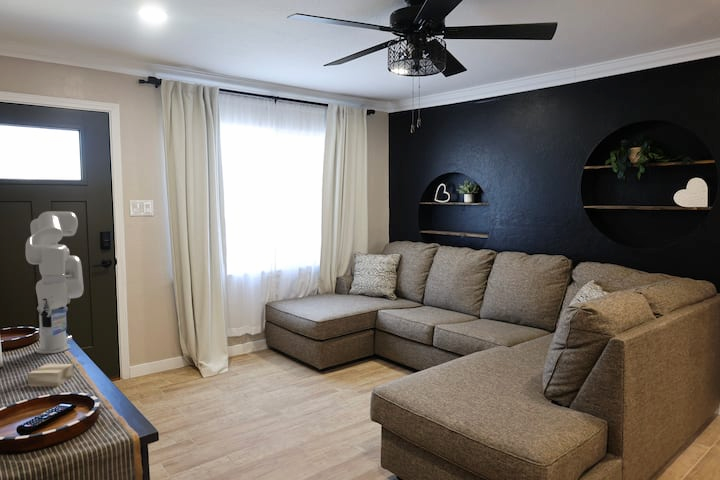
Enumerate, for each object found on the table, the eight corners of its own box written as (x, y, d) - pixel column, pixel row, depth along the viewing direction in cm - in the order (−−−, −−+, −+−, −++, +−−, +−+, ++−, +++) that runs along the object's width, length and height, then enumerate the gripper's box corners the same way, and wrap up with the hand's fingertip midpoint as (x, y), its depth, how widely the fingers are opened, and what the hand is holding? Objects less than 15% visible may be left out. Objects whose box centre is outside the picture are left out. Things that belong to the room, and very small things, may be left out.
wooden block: (46, 376, 176) (45, 363, 176) (73, 376, 176) (73, 363, 176) (28, 387, 166) (28, 373, 166) (57, 387, 167) (57, 373, 166)
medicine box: (52, 336, 179) (51, 313, 178) (41, 335, 179) (40, 312, 178) (67, 330, 187) (66, 308, 186) (56, 329, 187) (55, 308, 186)
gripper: (60, 275, 190) (61, 318, 192) (27, 282, 173) (28, 329, 174) (78, 275, 190) (79, 319, 191) (46, 283, 172) (48, 330, 174)
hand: (55, 323), depth 183 cm, fingers closed on medicine box, 8 cm apart
